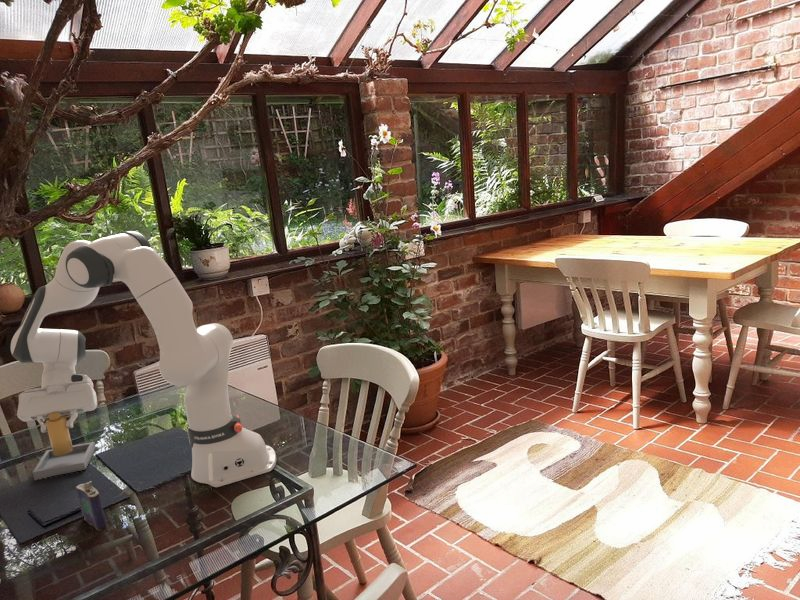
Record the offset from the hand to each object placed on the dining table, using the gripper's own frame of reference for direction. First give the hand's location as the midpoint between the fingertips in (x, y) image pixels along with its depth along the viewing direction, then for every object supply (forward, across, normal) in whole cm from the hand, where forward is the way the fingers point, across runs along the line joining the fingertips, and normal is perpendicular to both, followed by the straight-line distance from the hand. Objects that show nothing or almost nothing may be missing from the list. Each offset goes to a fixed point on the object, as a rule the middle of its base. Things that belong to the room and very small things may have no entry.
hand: (57, 429), depth 170 cm
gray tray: (+8, 0, +8) cm, 11 cm away
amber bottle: (+5, 0, +6) cm, 7 cm away
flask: (+32, +15, -16) cm, 39 cm away
